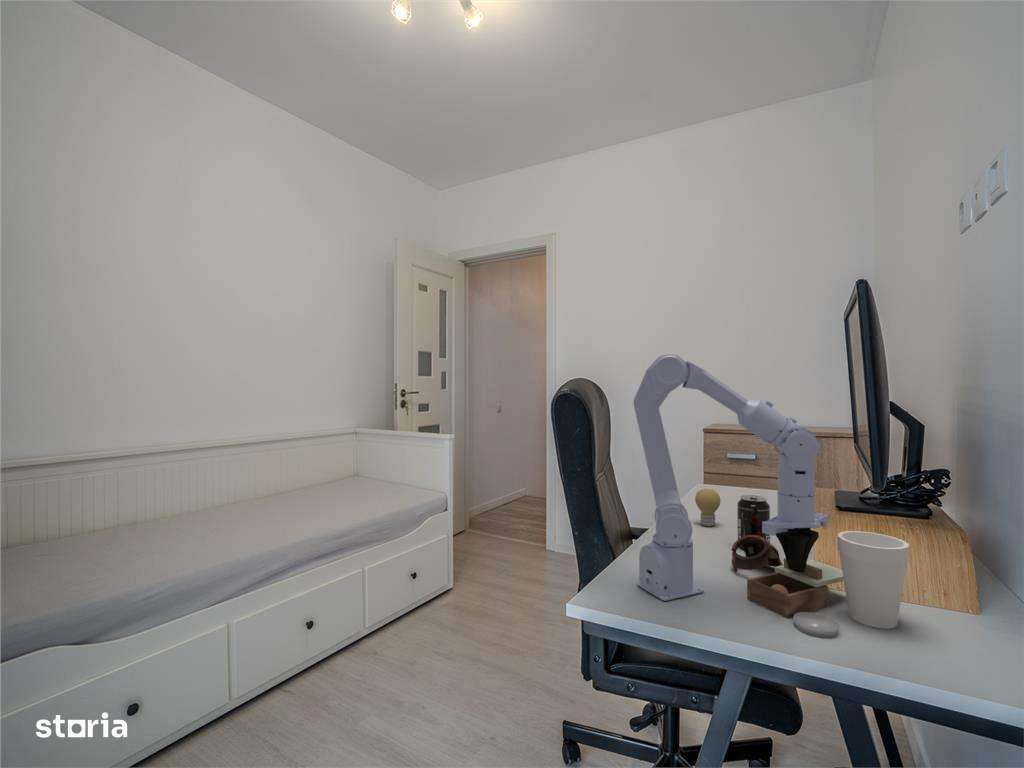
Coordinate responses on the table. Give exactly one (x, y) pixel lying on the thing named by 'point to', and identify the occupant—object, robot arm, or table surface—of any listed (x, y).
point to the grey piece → (816, 624)
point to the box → (786, 595)
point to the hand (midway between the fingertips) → (796, 570)
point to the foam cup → (873, 576)
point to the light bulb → (707, 505)
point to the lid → (813, 573)
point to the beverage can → (752, 516)
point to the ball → (780, 588)
